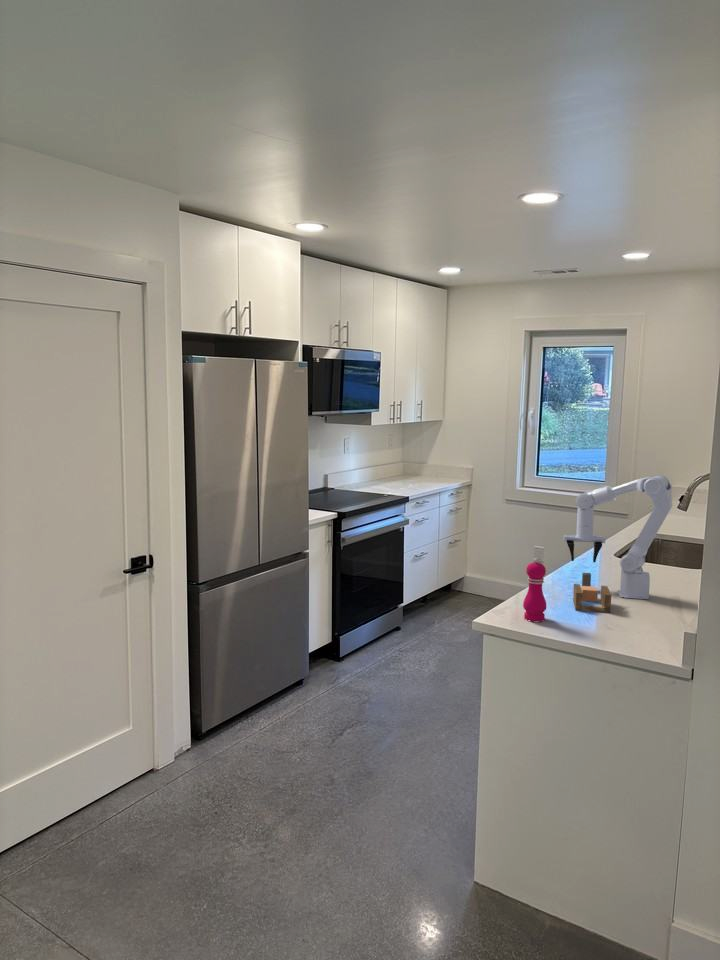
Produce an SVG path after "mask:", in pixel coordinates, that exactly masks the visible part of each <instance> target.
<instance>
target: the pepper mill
mask: <svg viewBox="0 0 720 960" xmlns="http://www.w3.org/2000/svg"><path fill="white" fill-rule="evenodd" d="M525 571H526V575H527V576H528V577H527V582H528V588H527V589H528V590H527V592H526V594H525V597H524V600H523V602H522V603H523V604H522V607H523V609H524V610H525V611H524V616H523V617H524V620H526V619H527V620H526V621H528V620H530V621H529V622H531V621H541V622H543V620H544V621H545V617H546V616H545V613H544V612H545V611H546V610H547V601H546V598H545V596H544V593H543V592H544V591H543V584H544V582H545V581H544V580H545V579H544V577H545V575H547V573H546V572H547V570H546V567H545V565H544V564H542V563H541V562H540V559H539V558H538V557H534V558H533V562H530V563H528V565H527V566H526V570H525Z"/></svg>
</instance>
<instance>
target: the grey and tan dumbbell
mask: <svg viewBox="0 0 720 960" xmlns="http://www.w3.org/2000/svg"><path fill="white" fill-rule="evenodd" d="M591 583H592V574H591V572H582V575H581V585H580V586H581V590H582V593H583V596H582V602H590V603H591V602H592V603H598V600H599V599H598V598H599V596H598V595H599V590H598V587H597V586H591Z"/></svg>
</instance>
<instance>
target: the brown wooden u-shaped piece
mask: <svg viewBox="0 0 720 960" xmlns="http://www.w3.org/2000/svg"><path fill="white" fill-rule="evenodd" d="M581 586H582V585H581V584H580V583H574V584H573V595H572V596H573V597H572V601H573V602H572V603H573V606H574V610H575V611H578V612H581V611H582V612H593V613H605V612H606V613H605V614H607V613H609V614H611V611H612V610H611V609H612V593H611V592H610V589H609V587H608V586H609V585H600V598H599V599H600V600H599V601H600V602H601V603H600V605H602V606H595V605H583V601H582V596H583V593H582V590H581Z"/></svg>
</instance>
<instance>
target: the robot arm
mask: <svg viewBox="0 0 720 960" xmlns="http://www.w3.org/2000/svg"><path fill="white" fill-rule="evenodd" d="M672 487H673V486H672V484H671V482H670V481H669V479H668V478H667V476H665V475H662V474H657V475H655V476H648V477H641V478H638V479H634V480H632V481H629V482H625V483H623V484H621V485H620V484H619V485H617V486H614V487H612V486H610V485H605V484H603V485H600V487H599V488H596V489H588V490H587V491H586V492H582V493H580V494H578V495H577V496H576V498H575V505H576V506H577V512H576V513H577V516H576V517H577V518H576V534H573V535H571V534H569V535H566V534H565V535H563V542H566V544H567V547H568V549H569V553H570V559H571V562H574V560H575V555H574V553H575V551H574V550H575V542H576V543H577V542H579V543H593V557H592V561H593V563H596V561H597V558H598V555H599V553H600V550H601V549H602V548H603V544H606V536H605V537H604V536H597V535H596V536H595V535H594V518H595V517H594V514H595V513H594V512H595V506H601V505H602V504H603V505H604V504H606V503H610V502H613V501H614V500H615V499H616V496H620V495H623V494H624V495H625V494H628V493H631V492H634V491H637V492H641V493H644V492H645V494H646V495H648V496H649V498H650V499H651V500H652V502H653V505H654V508H653V510H652V511H651V512H650V515H649V516H648V518H647V520H646V521H645V523H644V525H643V527H642V528H641V530H640V533H639V534H638V536H637V538H636V539H635V542H634V543H633V545H632V546H631V548H630V549H628V552H627V553H626V554H625V555H623V556H622V557H621V558H620V561H619V565H620V567H621V569H620V570H621V571H620V587H619V589H618V590H617V592H618V594H619V598H622V597H624V599H638V600H650V585H651V584H650V582H651V581H650V580H651V579H650V578H651V577H650V573H649V572H648V571H644V569H643V566H644V565H645V563H646V556H647V553H648V550H649V548H650V546H651V544H652V542H653V541H654V540H655V538H656V536H657V534H658V532H659V530H660V528H661V527H662V525H663V524H664V522H665V520H666V518H667V516H668V515H669V513H670V511H671V509H672V507H673V497H672V489H673V488H672Z"/></svg>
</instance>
